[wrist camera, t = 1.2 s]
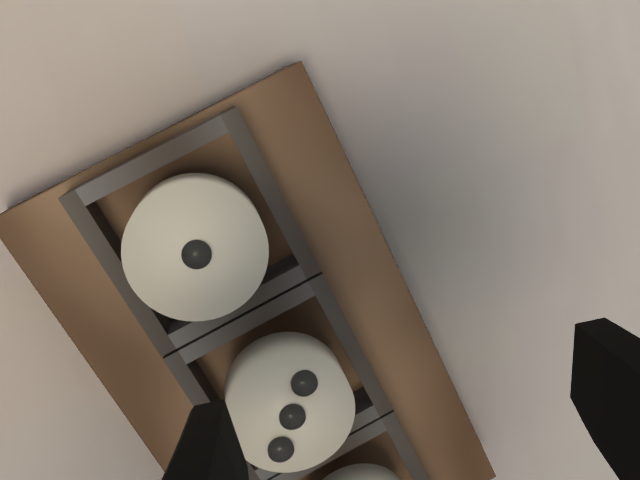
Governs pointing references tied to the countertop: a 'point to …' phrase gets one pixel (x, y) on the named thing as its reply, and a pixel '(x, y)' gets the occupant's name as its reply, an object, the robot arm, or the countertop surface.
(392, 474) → the button two
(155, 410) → the button panel
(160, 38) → the countertop surface
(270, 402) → the button three
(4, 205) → the countertop surface
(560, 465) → the countertop surface
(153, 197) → the button one
